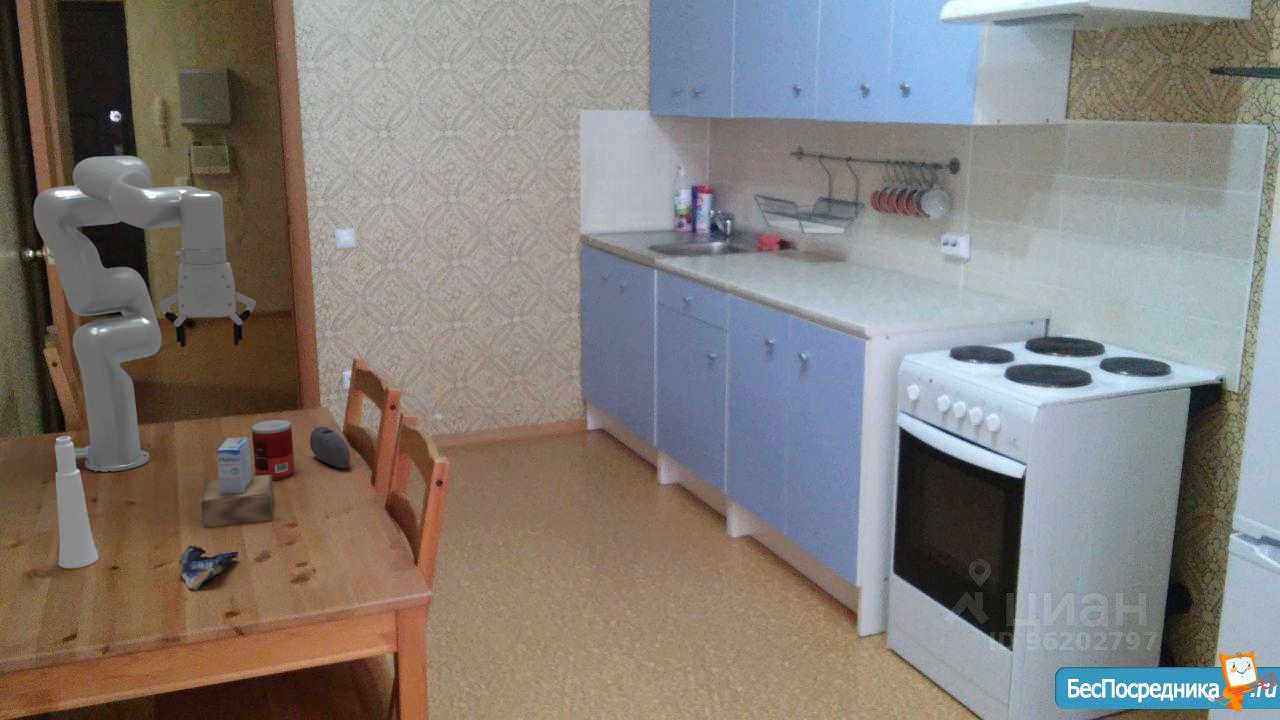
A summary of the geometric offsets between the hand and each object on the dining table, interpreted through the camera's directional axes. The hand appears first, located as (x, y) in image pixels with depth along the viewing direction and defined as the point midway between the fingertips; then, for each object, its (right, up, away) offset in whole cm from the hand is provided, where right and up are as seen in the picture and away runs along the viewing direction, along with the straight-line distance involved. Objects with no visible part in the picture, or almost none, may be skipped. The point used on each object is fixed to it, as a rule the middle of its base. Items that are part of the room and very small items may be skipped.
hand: (210, 344), depth 205 cm
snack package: (+11, -39, -28) cm, 49 cm away
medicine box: (+6, -27, -3) cm, 28 cm away
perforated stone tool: (+16, -26, +27) cm, 40 cm away
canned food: (+6, -27, +19) cm, 34 cm away
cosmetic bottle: (-13, -38, -24) cm, 46 cm away
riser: (+6, -32, -2) cm, 33 cm away
